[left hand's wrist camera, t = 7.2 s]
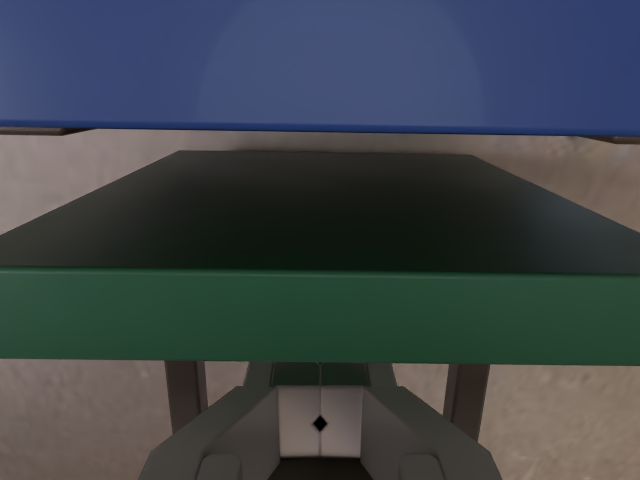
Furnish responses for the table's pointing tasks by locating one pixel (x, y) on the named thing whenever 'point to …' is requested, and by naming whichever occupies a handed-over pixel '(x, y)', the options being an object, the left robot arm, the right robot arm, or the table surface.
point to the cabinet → (324, 66)
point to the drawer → (322, 273)
